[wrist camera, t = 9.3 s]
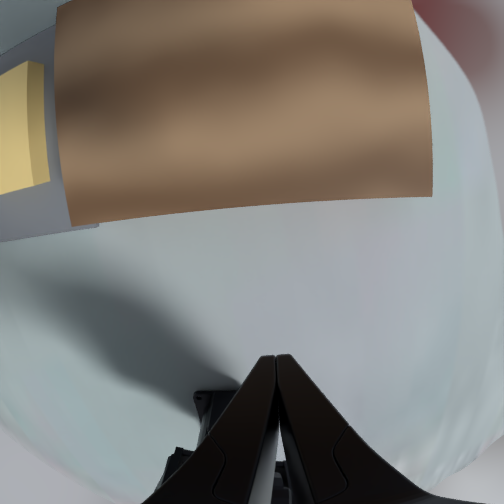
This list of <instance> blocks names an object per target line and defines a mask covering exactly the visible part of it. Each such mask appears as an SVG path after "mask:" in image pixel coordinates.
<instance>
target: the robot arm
mask: <svg viewBox="0 0 504 504" xmlns="http://www.w3.org/2000/svg"><path fill="white" fill-rule="evenodd" d="M198 396H200V397H198ZM193 399H194V402H195V405H196V408H197V411H198V414H199V417H200V420H201V428H200V433H199V438H198V443H197V448H196V450H195V451H190V450H185V449H183V448H180V447H176V449H175V452H174V454H172V455H171V456H169V457H168V460H167V464H166V467H165V471H164V473H163V476H162V477H161V479H160V481H159V483H158V485H157V487H156V489H155V491H154V493H153V494H152V495H151V496H149V497H148V498H147V499H146V500H145V501H144V502H143V503H141V504H484V503H476V502H469V501H462V500H456V499H450V498H445V497H440V496H436V495H433V494H430V493H428V492H426V491H424V490H422V489H421V488H419V487H418V486H416V485H415V484H414V483H412V482H411V481H410V480H409V479H407V478H406V477H405V476H404V475H402V474H401V473H400V472H399V471H397V470H396V469H395V468H394V467H393V466H391V465H390V464H389V463H388V462H387V461H385V460H384V459H383V458H382V457H381V456H380V455H378V454H377V453H376V452H375V451H374V450H373V449H372V448H371V447H370V446H369V445H368V444H367V443H366V442H365V441H364V440H363V439H362V438H361V437H360V436H359V435H358V434H357V433H356V431H355V430H354V429H353V428H352V427H351V426H349V423H348V422H347V421H346V420H345V419H344V418H343V416H342V415H341V414H340V413H339V412H338V411H337V409H336V408H335V407H334V406H333V405H332V403H331V402H330V401H329V400H328V399H327V398H326V396H325V395H324V394H323V393H322V392H321V390H320V389H319V388H318V387H317V386H316V384H315V383H314V382H313V381H312V380H311V378H310V377H309V376H308V375H307V374H306V372H305V371H304V370H303V369H302V368H301V366H300V365H299V364H298V363H297V361H296V360H295V359H294V358H293V357H292V355H290V354H281V355H277V356H276V357H275V356H274V355H266V356H261V357H260V358H259V359H258V361H257V363H256V364H255V366H254V367H253V369H252V370H251V372H250V373H249V375H248V376H247V378H246V379H245V381H244V382H243V384H242V385H241V387H240V388H239V390H238V391H196V392H195V393H194V396H193ZM278 407H279V408H278ZM279 423H280V431H281V437H282V442H283V447H284V452H285V457H286V461H284V460H283V461H276V454H277V445H278V435H279Z"/></svg>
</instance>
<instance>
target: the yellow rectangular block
mask: <svg viewBox="0 0 504 504" xmlns="http://www.w3.org/2000/svg"><path fill="white" fill-rule="evenodd" d="M49 181H50V175H49V167H48V158H47V148H46V136H45V120H44V64H41V63H37V62H32V61H26V62H24V63H22V64H20V65H18V66H16V67H15V68H13V69H11V70H9V71H7V72H6V73H4V74H2V75H1V76H0V195H1V194H5V193H8V192H12V191H16V190H20V189H23V188H27V187H31V186H35V185H39V184H42V183H45V182H49Z"/></svg>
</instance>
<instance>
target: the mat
mask: <svg viewBox="0 0 504 504" xmlns="http://www.w3.org/2000/svg"><path fill="white" fill-rule="evenodd" d="M55 29H56V25H53V26H51V27H49V28H48V29H46V30H44V31H42V32H40V33H38V34H36V35H34V36H33V37H31V38H29V39H27V40H25V41H24V42H22V43H20V44H19V45H17V46H15V47H14V48H12V49H10V50H9V51H7V52H6V53H4V54H3V55H1V56H0V76H1V75H2V74H4V73H6V72H7V71H9V70H11V69H13V68H15V67H16V66H18V65H20V64H22V63H24V62H26V61H32V62H37V63H41V64H44V120H45V136H46V148H47V158H48V167H49V175H50V181H49V182H45V183H42V184H39V185H35V186H31V187H27V188H23V189H20V190H16V191H12V192H8V193H5V194H1V195H0V242H5V241H11V240H17V239H23V238H29V237H35V236H41V235H48V234H54V233H61V232H68V231H74V230H81V229H89V228H96V227H98V226H99V223H95V224H88V225H82V226H75V227H72V226H71V221H70V217H69V212H68V206H67V201H66V196H65V190H64V184H63V177H62V171H61V163H60V156H59V147H58V138H57V127H56V113H55V92H54V49H55Z"/></svg>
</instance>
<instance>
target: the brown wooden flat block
mask: <svg viewBox="0 0 504 504" xmlns="http://www.w3.org/2000/svg"><path fill="white" fill-rule="evenodd" d="M54 92H55V113H56V127H57V138H58V147H59V156H60V163H61V171H62V177H63V184H64V190H65V196H66V201H67V206H68V212H69V217H70V221H71V226H72V227H75V226H82V225H88V224H95V223H102V222H110V221H117V220H125V219H133V218H140V217H149V216H157V215H166V214H174V213H184V212H193V211H203V210H213V209H223V208H234V207H245V206H257V205H270V204H283V203H297V202H312V201H329V200H348V199H370V198H397V197H432V188H433V159H432V132H431V117H430V105H429V95H428V86H427V78H426V71H425V65H424V58H423V52H422V47H421V41H420V36H419V31H418V27H417V22H416V18H415V14H414V10H413V6H412V2H411V0H72V1H69V2H67V3H65V4H63V5H61V6H59V7H57V16H56V29H55V49H54Z"/></svg>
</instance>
